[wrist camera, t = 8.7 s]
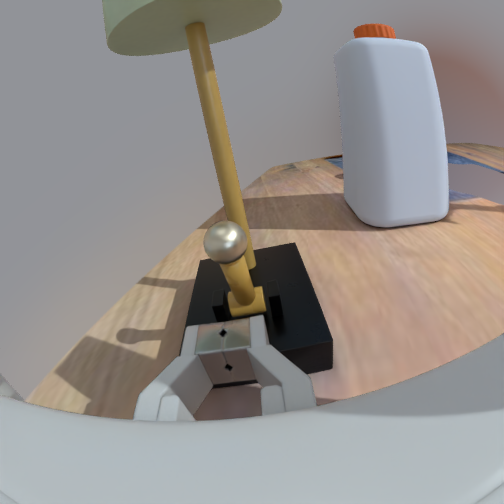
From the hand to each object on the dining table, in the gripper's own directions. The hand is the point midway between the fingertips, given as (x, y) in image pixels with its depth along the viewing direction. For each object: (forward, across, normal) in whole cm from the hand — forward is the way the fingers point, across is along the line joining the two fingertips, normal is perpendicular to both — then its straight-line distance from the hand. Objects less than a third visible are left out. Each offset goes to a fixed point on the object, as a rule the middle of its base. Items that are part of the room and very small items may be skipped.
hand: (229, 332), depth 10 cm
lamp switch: (+8, 0, -4) cm, 9 cm away
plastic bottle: (+29, +23, -9) cm, 38 cm away
